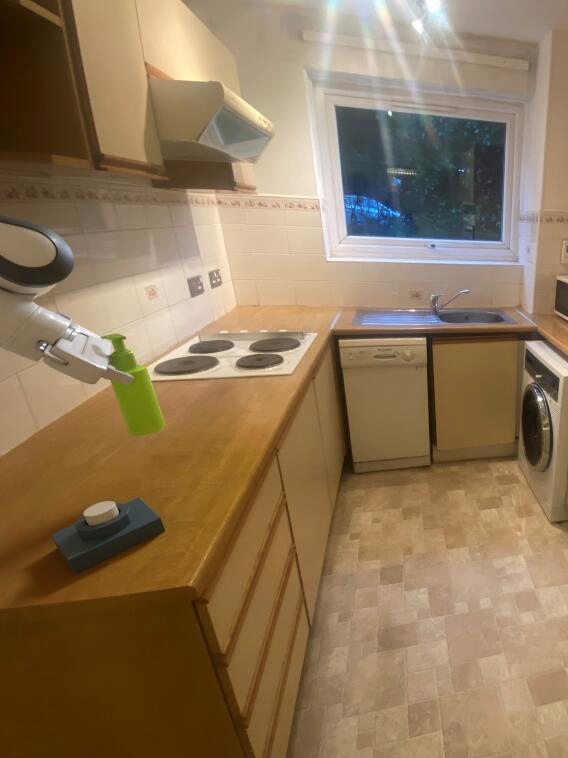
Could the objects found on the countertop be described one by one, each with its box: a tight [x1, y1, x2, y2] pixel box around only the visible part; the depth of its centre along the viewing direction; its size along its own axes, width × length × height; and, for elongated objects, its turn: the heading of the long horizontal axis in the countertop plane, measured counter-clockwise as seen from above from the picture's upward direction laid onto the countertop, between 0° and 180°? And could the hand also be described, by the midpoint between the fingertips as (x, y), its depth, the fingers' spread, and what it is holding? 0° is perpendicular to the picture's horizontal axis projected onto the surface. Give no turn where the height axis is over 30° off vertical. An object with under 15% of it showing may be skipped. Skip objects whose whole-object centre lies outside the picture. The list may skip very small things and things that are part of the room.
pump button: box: [82, 500, 119, 526], centre depth 73 cm, size 4×4×2 cm
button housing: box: [50, 497, 166, 575], centre depth 74 cm, size 12×10×5 cm
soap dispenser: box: [100, 333, 166, 437], centre depth 87 cm, size 6×7×20 cm
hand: (132, 375), depth 86 cm, fingers closed on soap dispenser, 6 cm apart
